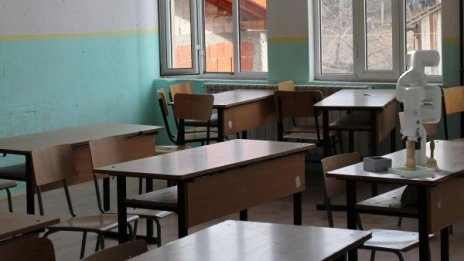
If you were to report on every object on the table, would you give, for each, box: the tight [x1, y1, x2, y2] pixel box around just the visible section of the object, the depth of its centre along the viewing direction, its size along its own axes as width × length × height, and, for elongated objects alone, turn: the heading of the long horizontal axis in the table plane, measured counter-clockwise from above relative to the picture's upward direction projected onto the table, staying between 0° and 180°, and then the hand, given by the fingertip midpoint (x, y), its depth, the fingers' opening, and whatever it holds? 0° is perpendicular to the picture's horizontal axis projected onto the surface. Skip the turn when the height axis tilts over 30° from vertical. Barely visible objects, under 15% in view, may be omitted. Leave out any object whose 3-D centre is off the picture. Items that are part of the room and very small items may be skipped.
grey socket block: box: [362, 156, 393, 173], centre depth 431 cm, size 10×10×7 cm
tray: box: [387, 166, 436, 179], centre depth 423 cm, size 17×14×3 cm
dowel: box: [405, 140, 417, 171], centre depth 422 cm, size 4×4×16 cm
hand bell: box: [425, 138, 441, 173], centre depth 434 cm, size 8×8×16 cm
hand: (411, 148), depth 421 cm, fingers open, 9 cm apart
